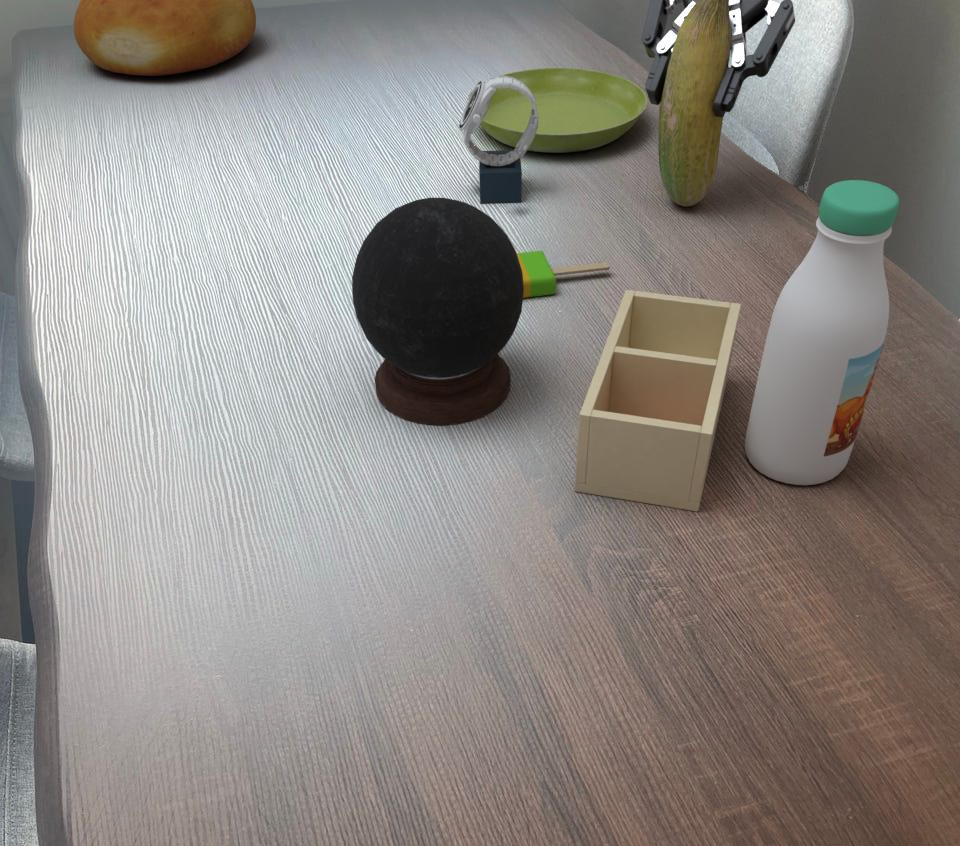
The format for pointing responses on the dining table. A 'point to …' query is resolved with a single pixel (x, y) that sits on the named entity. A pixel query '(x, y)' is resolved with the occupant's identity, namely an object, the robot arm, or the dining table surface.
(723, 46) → the vegetable
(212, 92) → the dining table surface
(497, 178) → the watch
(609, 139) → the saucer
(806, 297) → the milk bottle
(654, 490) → the wooden divided box
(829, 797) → the dining table surface
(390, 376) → the black ball on stand
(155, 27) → the bread
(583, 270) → the popsicle
